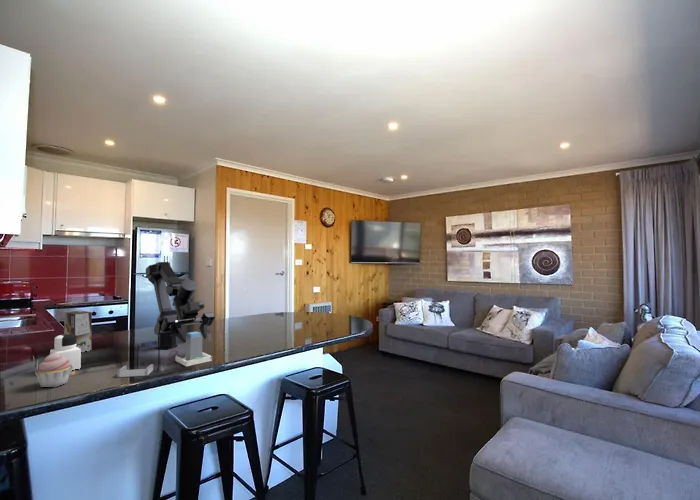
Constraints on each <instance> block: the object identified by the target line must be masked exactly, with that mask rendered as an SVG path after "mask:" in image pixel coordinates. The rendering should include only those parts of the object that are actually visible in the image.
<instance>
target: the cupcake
mask: <svg viewBox="0 0 700 500" xmlns="http://www.w3.org/2000/svg"><path fill="white" fill-rule="evenodd" d="M70 364H71V362H70V361H69V360H68V359H67V358H66V357H65V356H59V354H58V353H57V352H54V353H52V354H50V353H49V355H47V356H46V357H45V358H44V359H43V361H41V362H40V363H39V365H38V370H34V373H35V375H36V377H37V380H38V382H39V383H38V384H39V385H40V388H42V387H54V388H57V387H56V386H58V387H61V386H60V385H62V386H64V385H66V384H67V383H68V381H69V378H70V374H71V373H72V372H73V371H72V369H73V367H72V366H73V365H70ZM65 383H66V384H65ZM63 384H64V385H63Z"/></svg>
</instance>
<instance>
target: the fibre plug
mask: <svg viewBox="0 0 700 500" xmlns="http://www.w3.org/2000/svg"><path fill="white" fill-rule="evenodd" d="M185 339H186V342H185V347H184V348H185V352H184V354H185V356H184V358H185V360H187V361H189V360H194V359H195V358H199V357H202V352H203V335H202V333H201V331H200V332H199V331H190V332H187V333H186V335H185Z"/></svg>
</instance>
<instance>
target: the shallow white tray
mask: <svg viewBox="0 0 700 500" xmlns="http://www.w3.org/2000/svg"><path fill="white" fill-rule="evenodd" d="M153 371H154V363H151V364H149V365H148V366H147V367H146V368H140V369H139V368H138V369H137V368H136V369H128V365H123V366H122V367H121V368H119V369H118V370H117V371H116V378H129V377H132V378H133V377H147V376H149V375H150V374H151V373H152V372H153Z"/></svg>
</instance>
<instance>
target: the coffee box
mask: <svg viewBox="0 0 700 500" xmlns="http://www.w3.org/2000/svg"><path fill="white" fill-rule="evenodd" d="M92 313H93V312H92V311H86V310H73V311H67V312H64V314H63V315H64V317H63V320H64V323H63V324H64V325H63V326H64V329H63V335H64V334H74V335H76V336H77V345H76V347H78V348H80V349H81V352H82V353H86V352H85V351H87V352H91V351H92V334H93V333H92V328H93V327H92V324H93V323H92V319H93V318H92V317H93V316H92V315H93V314H92ZM90 350H91V351H90Z"/></svg>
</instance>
